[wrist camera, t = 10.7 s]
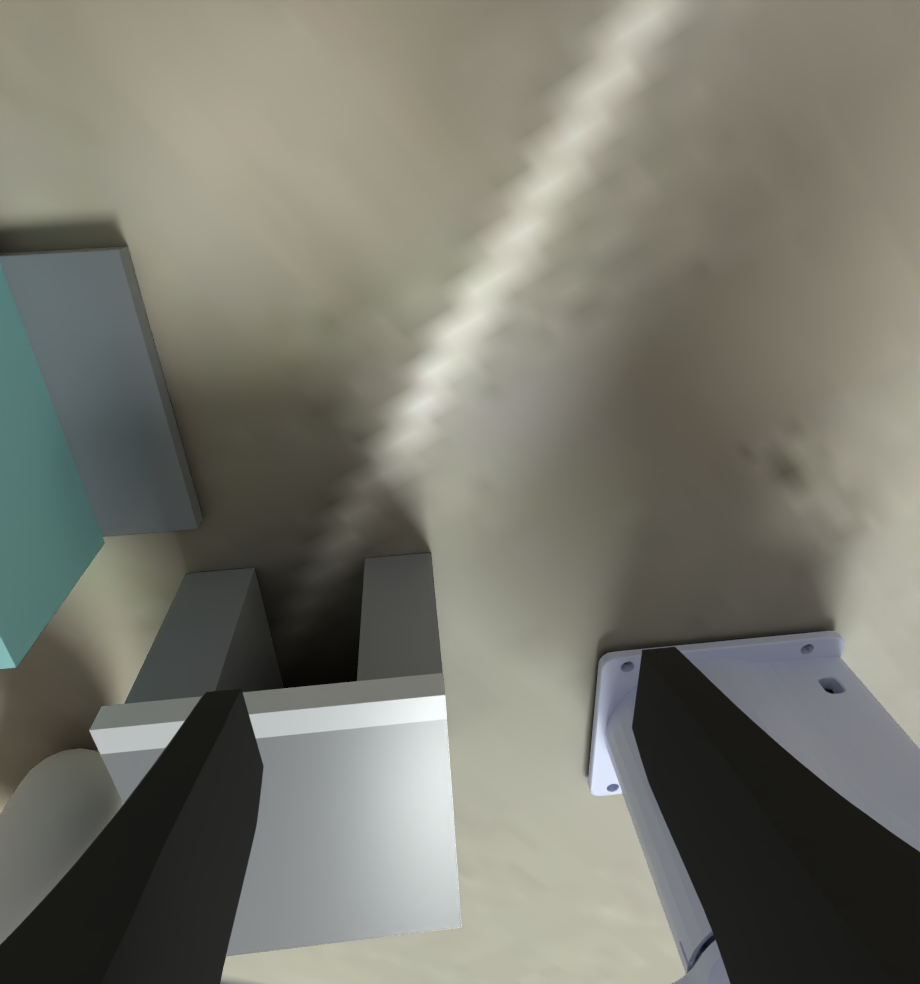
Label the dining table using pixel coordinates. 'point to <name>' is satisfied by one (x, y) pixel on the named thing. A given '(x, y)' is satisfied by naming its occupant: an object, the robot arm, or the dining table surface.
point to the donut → (50, 828)
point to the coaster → (106, 385)
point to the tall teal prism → (35, 497)
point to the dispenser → (316, 758)
